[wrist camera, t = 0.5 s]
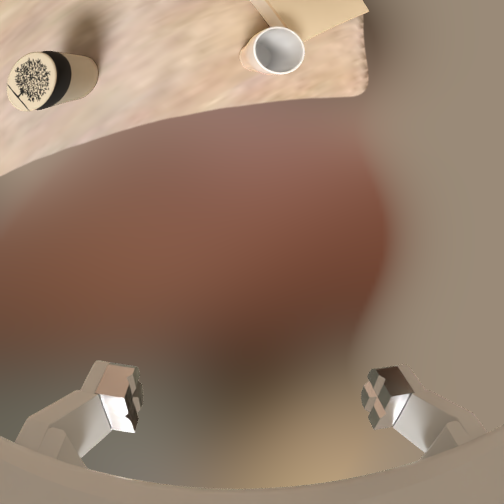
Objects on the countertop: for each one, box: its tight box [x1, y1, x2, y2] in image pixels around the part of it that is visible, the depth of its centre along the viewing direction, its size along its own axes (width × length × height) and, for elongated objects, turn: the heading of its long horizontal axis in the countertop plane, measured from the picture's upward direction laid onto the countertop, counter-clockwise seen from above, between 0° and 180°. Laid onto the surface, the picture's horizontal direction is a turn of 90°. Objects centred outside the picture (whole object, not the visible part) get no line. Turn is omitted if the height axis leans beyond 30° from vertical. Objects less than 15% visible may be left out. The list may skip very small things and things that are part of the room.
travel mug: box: [7, 51, 98, 111], centre depth 31 cm, size 8×8×18 cm
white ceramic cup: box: [239, 26, 305, 75], centre depth 37 cm, size 7×7×15 cm
